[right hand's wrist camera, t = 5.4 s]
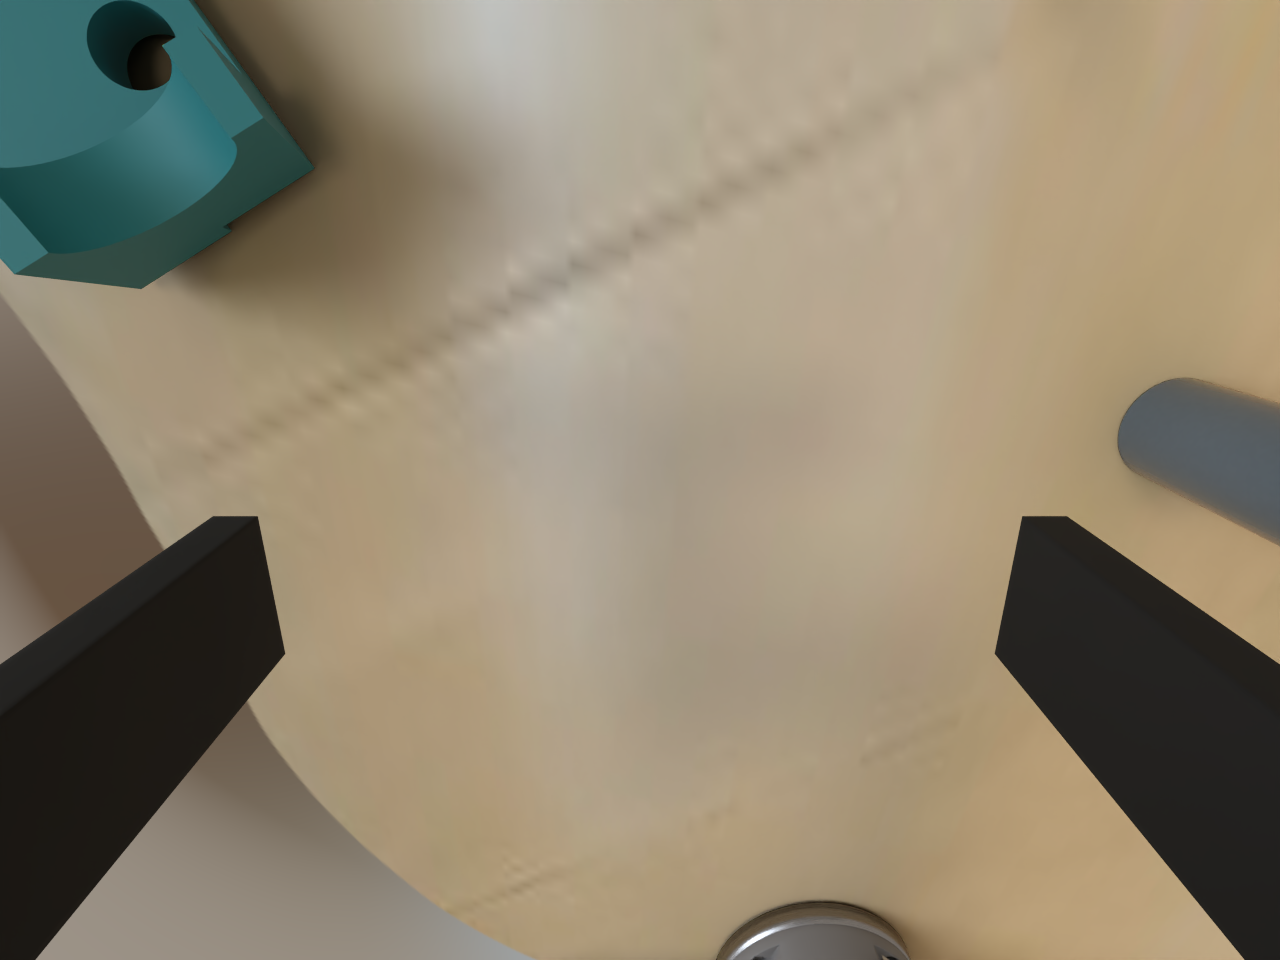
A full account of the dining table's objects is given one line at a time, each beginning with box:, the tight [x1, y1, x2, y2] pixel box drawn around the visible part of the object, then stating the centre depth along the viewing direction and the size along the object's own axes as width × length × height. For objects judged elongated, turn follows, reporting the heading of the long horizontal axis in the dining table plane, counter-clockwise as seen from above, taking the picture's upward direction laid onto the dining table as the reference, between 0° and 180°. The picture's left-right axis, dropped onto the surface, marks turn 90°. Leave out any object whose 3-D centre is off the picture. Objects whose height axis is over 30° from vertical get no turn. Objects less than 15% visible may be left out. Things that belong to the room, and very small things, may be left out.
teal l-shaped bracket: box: [0, 0, 315, 289], centre depth 29 cm, size 18×11×10 cm, turn 32°
